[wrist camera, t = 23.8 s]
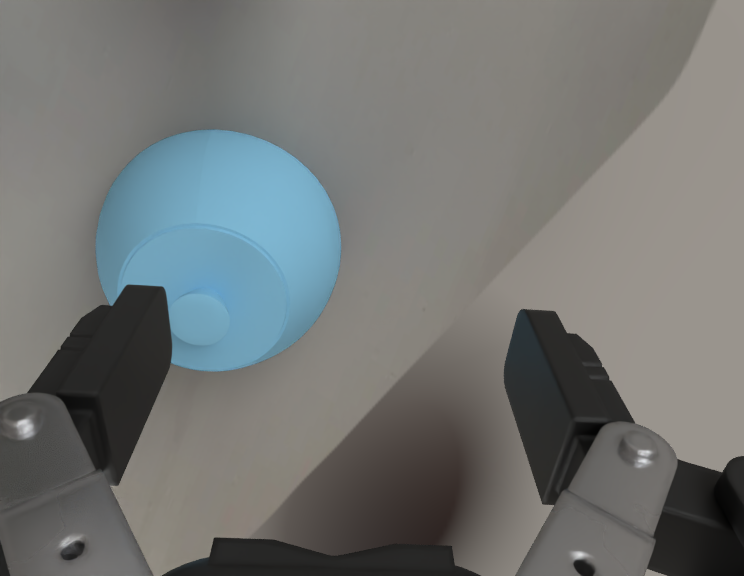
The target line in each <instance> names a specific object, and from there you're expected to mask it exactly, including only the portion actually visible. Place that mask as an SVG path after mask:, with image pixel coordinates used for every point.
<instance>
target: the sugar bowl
mask: <svg viewBox="0 0 744 576" xmlns="http://www.w3.org/2000/svg"><path fill="white" fill-rule="evenodd" d="M340 258H341V237H340V229H339V224H338V219H337V216H336V213H335V210H334V207H333V205H332V203H331V201H330V199H329V197H328V195H327V193H326V191H325V190H324V188H323V187H322V185H321V184H320V182H319V181H318V180H317V178H316V177H315V176H314V175H313V174H312V173H311V172H310V171H309V170H308V168H307V167H305V166H304V165H303V164H302V163H301V162H300V161H298V160H297V159H296V158H295V157H294V156H292V155H291V154H289V153H287V152H286V151H284V150H283V149H281V148H280V147H278V146H276V145H274V144H272V143H269V142H267V141H265V140H263V139H260V138H257V137H254V136H251V135H248V134H243V133H239V132H234V131H226V130H214V129H212V130H195V131H190V132H184V133H180V134H177V135H174V136H171V137H168V138H165V139H163V140H161V141H159V142H157V143H155V144H153V145H151V146H149V147H148V148H146V149H145V150H144V151H142V152H141V153H139V154H138V155H137V156H136V157H135V158H134V159H133V160H132V161H131V162H130V163H129V164H127V166H126V167H125V168H124V169H123V170H122V172H121V173H120V174H119V176H118V177H117V178H116V180H115V181H114V183H113V184H112V186H111V188H110V190H109V192H108V194H107V196H106V199H105V202H104V204H103V207H102V210H101V213H100V216H99V222H98V228H97V234H96V260H97V268H98V275H99V278H100V282H101V285H102V289H103V291H104V293H105V295H106V298H107V300H108V302H109V304H110V306H112V305H113V304H114V302H115V301H116V299H117V298H118V296H119V295H120V293H121V292H122V290H123V289H124V287H125V286H126V285H128V284H131V285H148V286H162V287H164V289H165V291H166V296H167V304H168V312H169V320H170V329H171V337H172V358H171V363H172V364H175V365H177V366H180V367H184V368H188V369H192V370H200V371H229V370H235V369H240V368H243V367H247V366H250V365H253V364H256V363H259V362H262V361H264V360H266V359H268V358H271V357H273V356H275V355H276V354H278V353H280V352H281V351H283V350H285V349H286V348H288V347H290V346H291V345H292V344H293V343H295V342H296V341H297V340H299V339H300V338H301V337H302V336H303V335H304V334H305V333H306V332H307V331H308V330H309V328H310V327H311V326H312V325H313V324H314V323H315V321H316V320H317V319H318V317H319V316H320V314H321V313H322V311H323V309H324V307H325V306H326V304H327V302H328V300H329V298H330V296H331V293H332V291H333V288H334V285H335V283H336V280H337V276H338V271H339V267H340Z"/></svg>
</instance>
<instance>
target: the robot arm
mask: <svg viewBox="0 0 744 576" xmlns="http://www.w3.org/2000/svg"><path fill="white" fill-rule="evenodd" d="M171 358H172V337H171V329H170V320H169V312H168V304H167V296H166V291H165V289H164V287H162V286H148V285H131V284H128V285H126V286H125V287H124V289H123V290H122V292H121V293H120V295H119V296H118V298H117V299H116V301H115V302H114V304H113V305H112V306H108V305H100V306H99V307H97V308H96V309H94V310H93V311H91V312H90V313H88V314H87V315H85V316H84V317H82V318H81V319H80V320H79V322H78V323H77V325H76V326H75V327H74V329H73V330H72V332H71V333H70V337H67V338H66V340H65V341H64V343H63V344H62V345H61V349H60V350H58V351H57V352H56V354H55V355H54V356H53V358H52V359H51V361H50V362H49V363H48V365H47V366H46V368H45V369H44V370H43V372H42V373H41V374H40V376H39V377H38V379H37V380H36V381H35V383H34V384H33V386H32V387H31V388H30V390H29V391H28V393H27V394H21V395H17V396H14V397H11V398H8V399H6V400H3V401H1V402H0V544H1V545H2V548H3V552H4V555H5V559H6V563H7V566H8V570H9V573H10V576H153V574H152V572H151V570H150V568H149V566H148V564H147V562H146V559H145V557H144V555H143V553H142V551H141V549H140V547H139V545H138V543H137V541H136V539H135V537H134V535H133V533H132V531H131V529H130V526H129V524H128V522H127V520H126V518H125V516H124V514H123V512H122V510H121V508H120V506H119V504H118V502H117V500H116V498H115V495H114V493H113V491H112V489H111V487H110V485H112V486H118V485H119V483H120V481H121V478H122V476H123V474H124V471H125V469H126V467H127V464H128V462H129V460H130V458H131V455H132V453H133V451H134V448H135V446H136V444H137V442H138V439H139V437H140V435H141V432H142V430H143V428H144V425H145V423H146V421H147V419H148V416H149V414H150V412H151V409H152V407H153V405H154V403H155V400H156V398H157V396H158V393H159V391H160V389H161V386H162V384H163V382H164V380H165V377H166V375H167V373H168V370H169V367H170V363H171ZM504 384H505V389H506V392H507V395H508V398H509V402H510V405H511V408H512V411H513V414H514V417H515V420H516V423H517V427H518V430H519V433H520V436H521V439H522V442H523V445H524V448H525V451H526V454H527V457H528V461H529V464H530V467H531V470H532V473H533V476H534V479H535V483H536V486H537V489H538V492H539V495H540V498H541V501H542V504H545V505H554V507H553V509H552V510H551V512H550V514H549V516H548V518H547V519H546V521H545V523H544V525H543V527H542V528H541V530H540V532H539V534H538V536H537V537H536V539H535V541H534V543H533V544H532V546H531V548H530V550H529V552H528V553H527V555H526V557H525V559H524V561H523V562H522V564H521V566H520V568H519V570H518V572H517V573H516V575H515V576H644V575H645V572H646V569H650V570H652V571H655V572H658V573H661V574H664V575H667V576H744V456H741V457H736V458H733V459H732V460H730V461H729V463H728V464H727V466H726V467H725V469H724V470H723V472H718V471H715V470H711V469H708V468H705V467H701V466H697V465H694V464H691V463H687V462H684V461H681V460H679V459H677V457H676V454H675V452H674V450H673V449H672V447H671V446H670V445H669V444H668V443H667V442H666V441H665V440H664V439H663V438H662V437H661V436H659V435H658V434H656V433H655V432H653V431H651V430H650V429H648V428H646V427H643V426H641V425H638V424H635V422H634V420H633V418H632V417H631V415H630V413H629V411H628V409H627V408H626V406H625V404H624V402H623V401H622V399H621V397H620V395H619V394H618V392H617V390H616V388H615V387H614V385H613V383H612V381H609V376H608V374H607V372H606V370H605V369H604V367H602V363H601V361H600V360H599V358H598V356H597V354H596V353H595V351H594V349H593V348H592V347H591V346H590V345H589V344H588V343H586V342H585V341H584V340H583V339H582V338H581V337H579V336H578V335H577V334H570V333H567V332H566V331H565V329H564V327H563V325H562V323H561V321H560V319H559V317H558V315H557V314H556V312H554V311H542V310H527V309H523V310H520V312H519V313H518V315H517V318H516V322H515V326H514V330H513V334H512V338H511V341H510V345H509V349H508V353H507V357H506V361H505V366H504ZM162 576H480V575H478V574H476V573H474V572H472V571H469V570H467V569H464V568H462V567H458V566H455V564H454V558H453V551H452V546H437V545H411V544H410V545H409V544H407V545H406V544H392V545H388V546H382V547H378V548H373V549H368V550H364V551H359V552H354V553H349V554H344V555H339V556H330V555H326V554H322V553H319V552H315V551H312V550H308V549H305V548H301V547H298V546H294V545H290V544H287V543H284V542H280V541H277V540H268V539H241V538H214V540H213V545H212V549H211V553H210V557H208V558H203V559H199V560H196V561H193V562H190V563H187V564H184V565H182V566H180V567H177V568H175V569H173V570H171V571H169V572H167V573H165V574H164V575H162Z"/></svg>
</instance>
